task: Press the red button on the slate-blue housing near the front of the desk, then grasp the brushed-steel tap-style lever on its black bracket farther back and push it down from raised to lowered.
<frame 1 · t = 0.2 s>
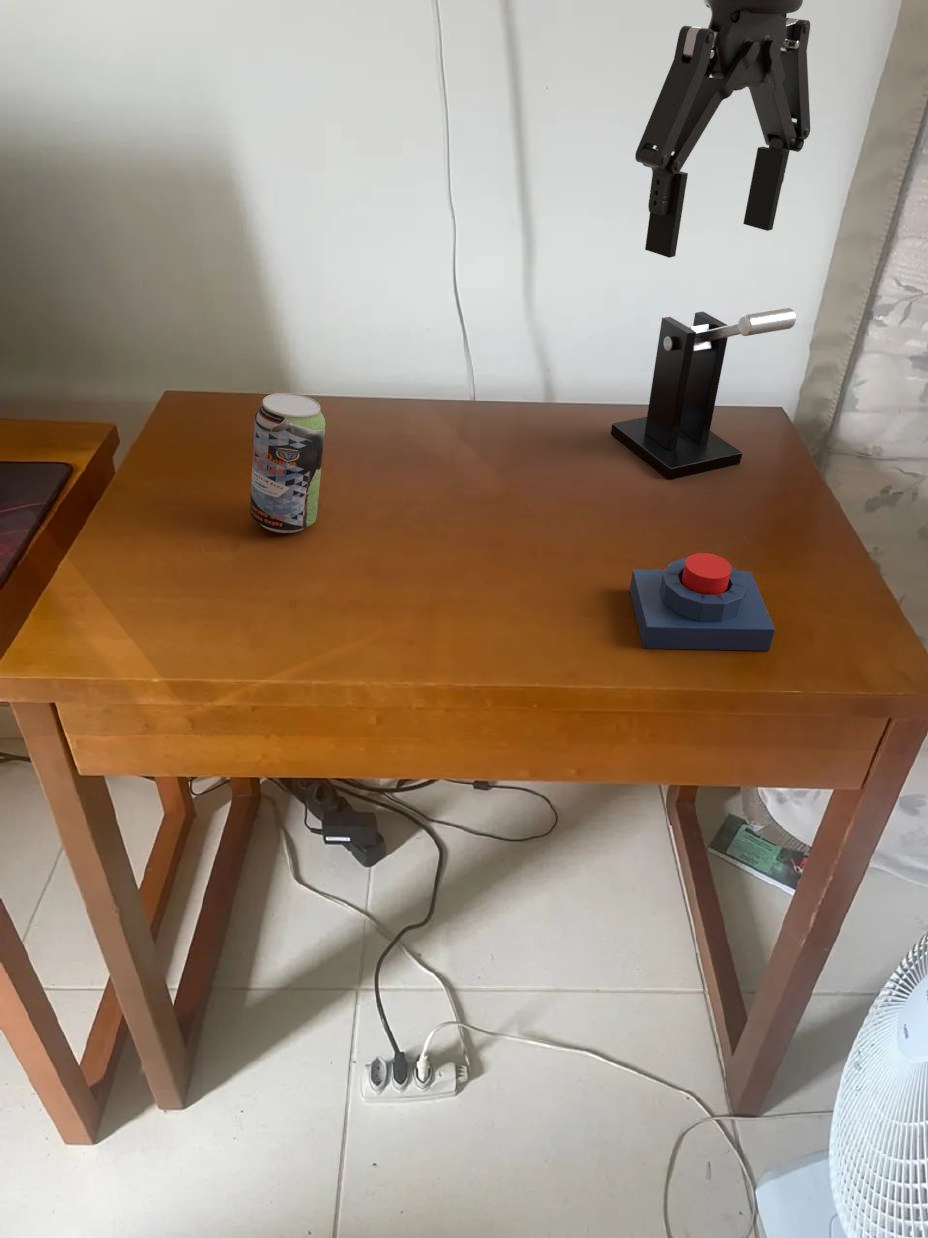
hand: (710, 239, 87), 23 cm above the table, tool pointing down, fingers open, 13 cm apart
lever: (726, 331, 93), point 14 cm above the table, hinge at 28.0°
button box: (696, 619, 80), on the table
button: (706, 574, 78), point 4 cm above the table, slide at 0.1 cm
beverage can: (292, 524, 91), on the table
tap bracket: (673, 448, 105), on the table
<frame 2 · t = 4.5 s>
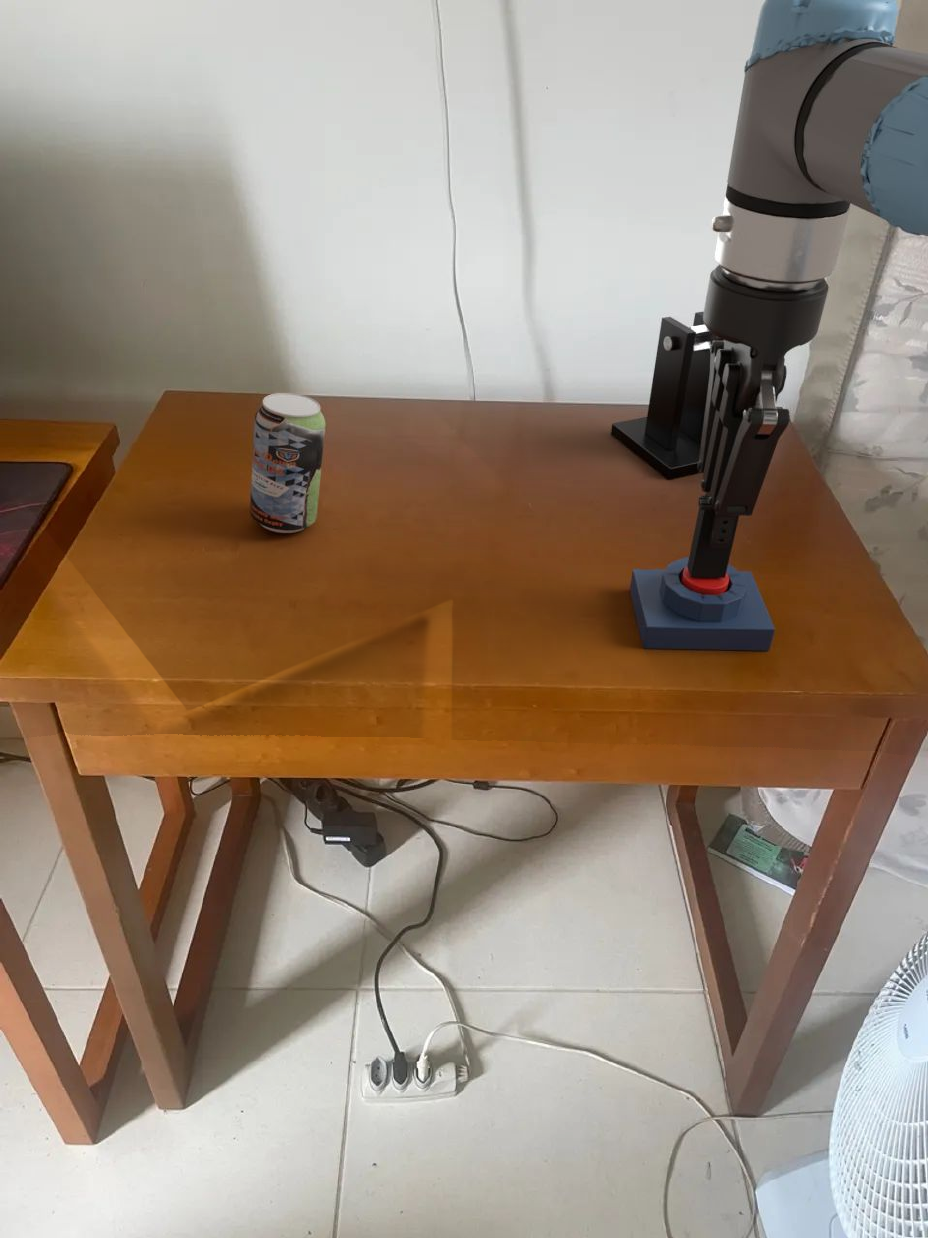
hand: (706, 571, 78), 5 cm above the table, tool pointing down, fingers closed
button: (704, 584, 78), point 4 cm above the table, slide at -0.9 cm, touching gripper
everything else where it was.
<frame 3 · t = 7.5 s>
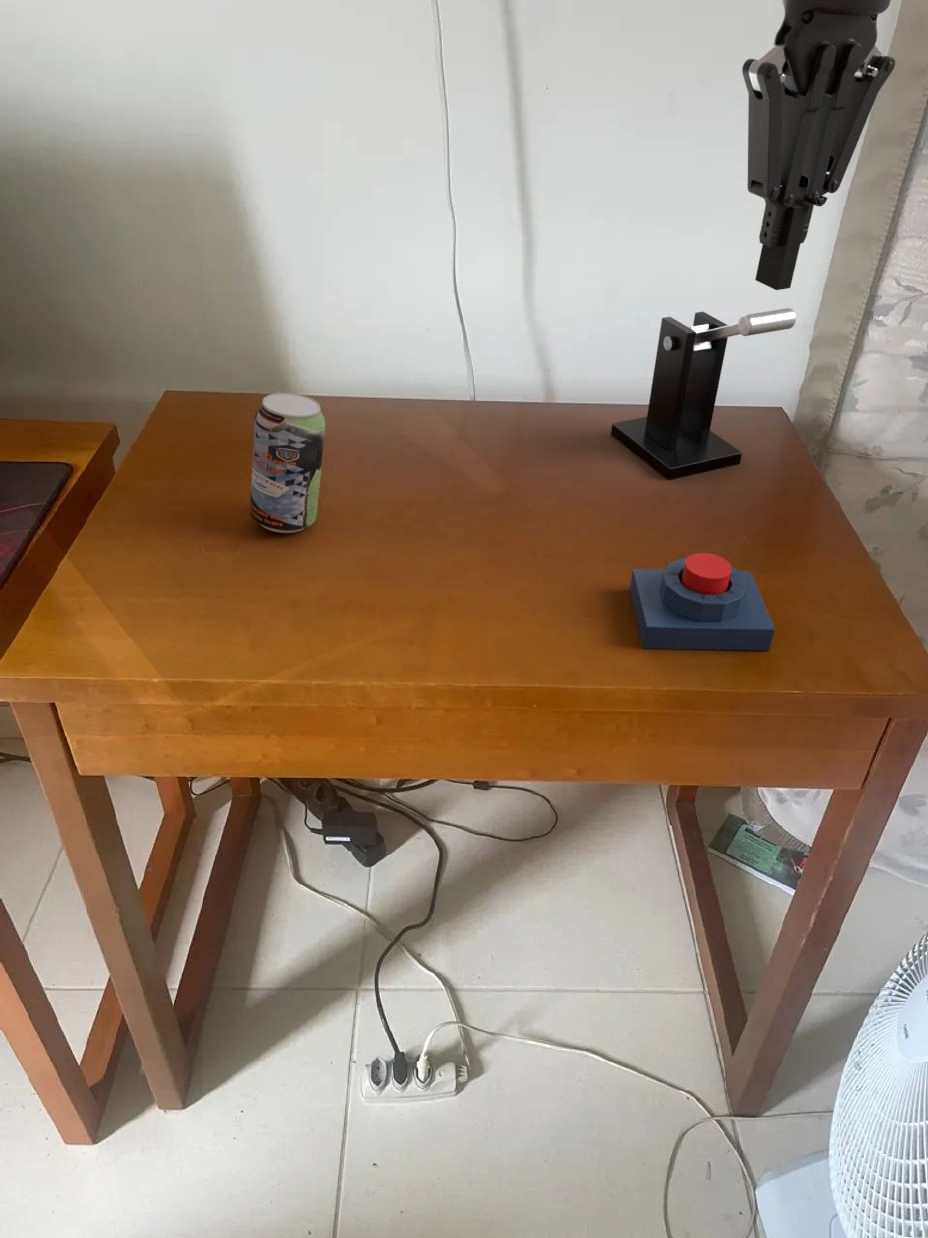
hand: (772, 283, 82), 21 cm above the table, tool pointing down, fingers closed
button: (706, 574, 78), point 4 cm above the table, slide at 0.1 cm
everything else where it was.
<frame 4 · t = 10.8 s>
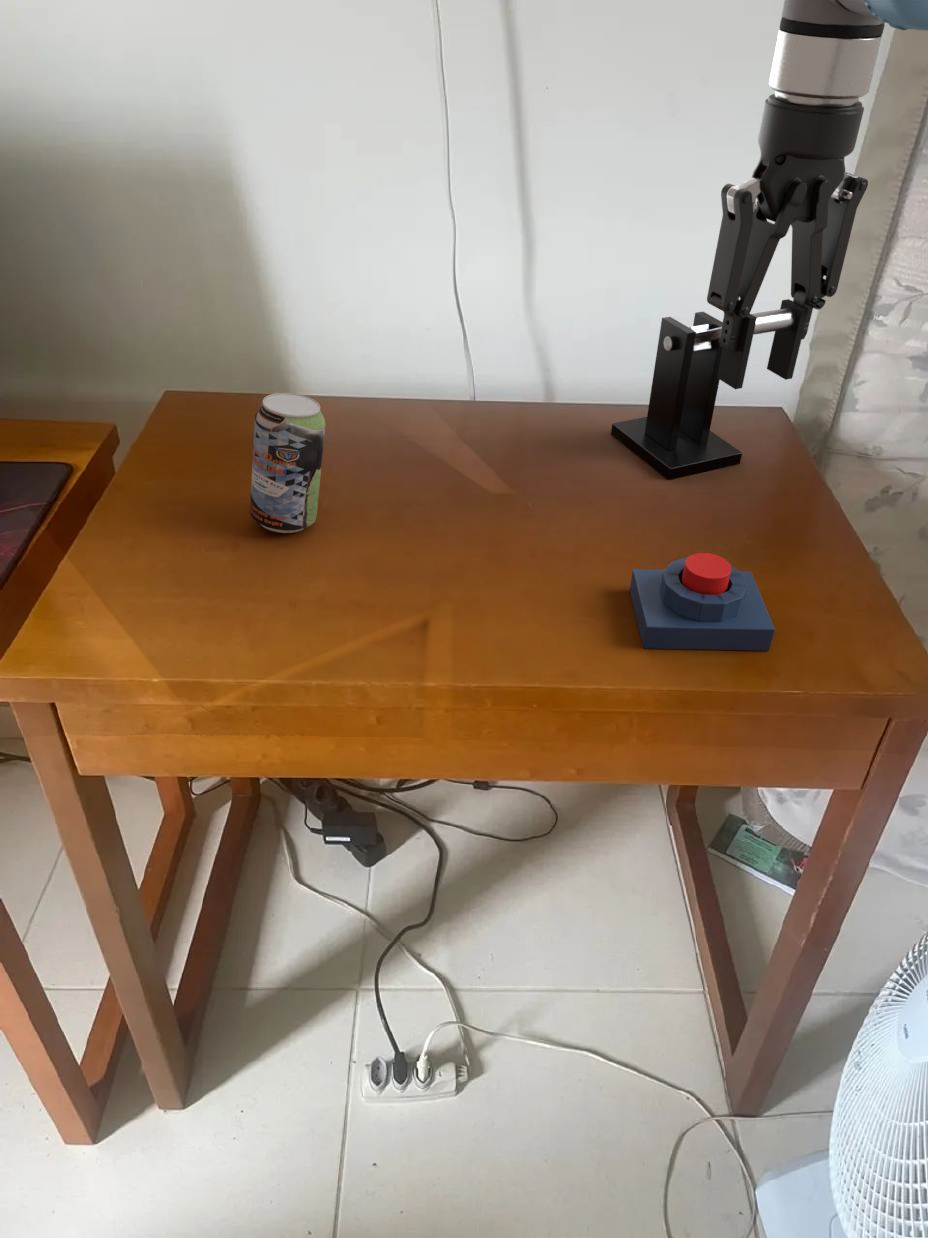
hand: (754, 377, 90), 12 cm above the table, tool pointing down, fingers closed on lever, 5 cm apart
lever: (726, 331, 93), point 14 cm above the table, hinge at 28.0°, touching gripper
everything else where it was.
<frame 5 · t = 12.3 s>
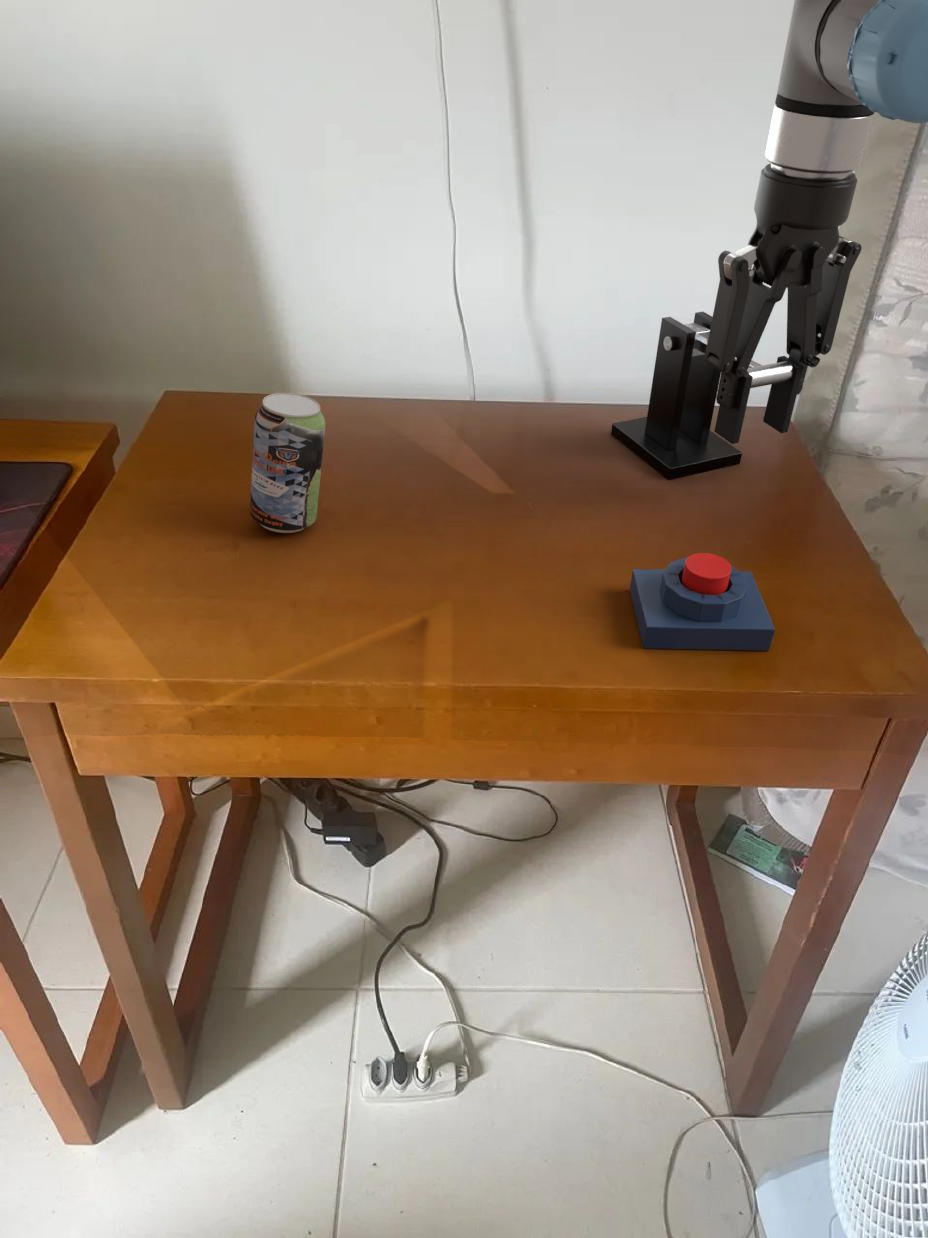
hand: (751, 431, 93), 7 cm above the table, tool pointing down, fingers closed on lever, 5 cm apart
lever: (725, 355, 93), point 12 cm above the table, hinge at 3.4°, touching gripper
everything else where it was.
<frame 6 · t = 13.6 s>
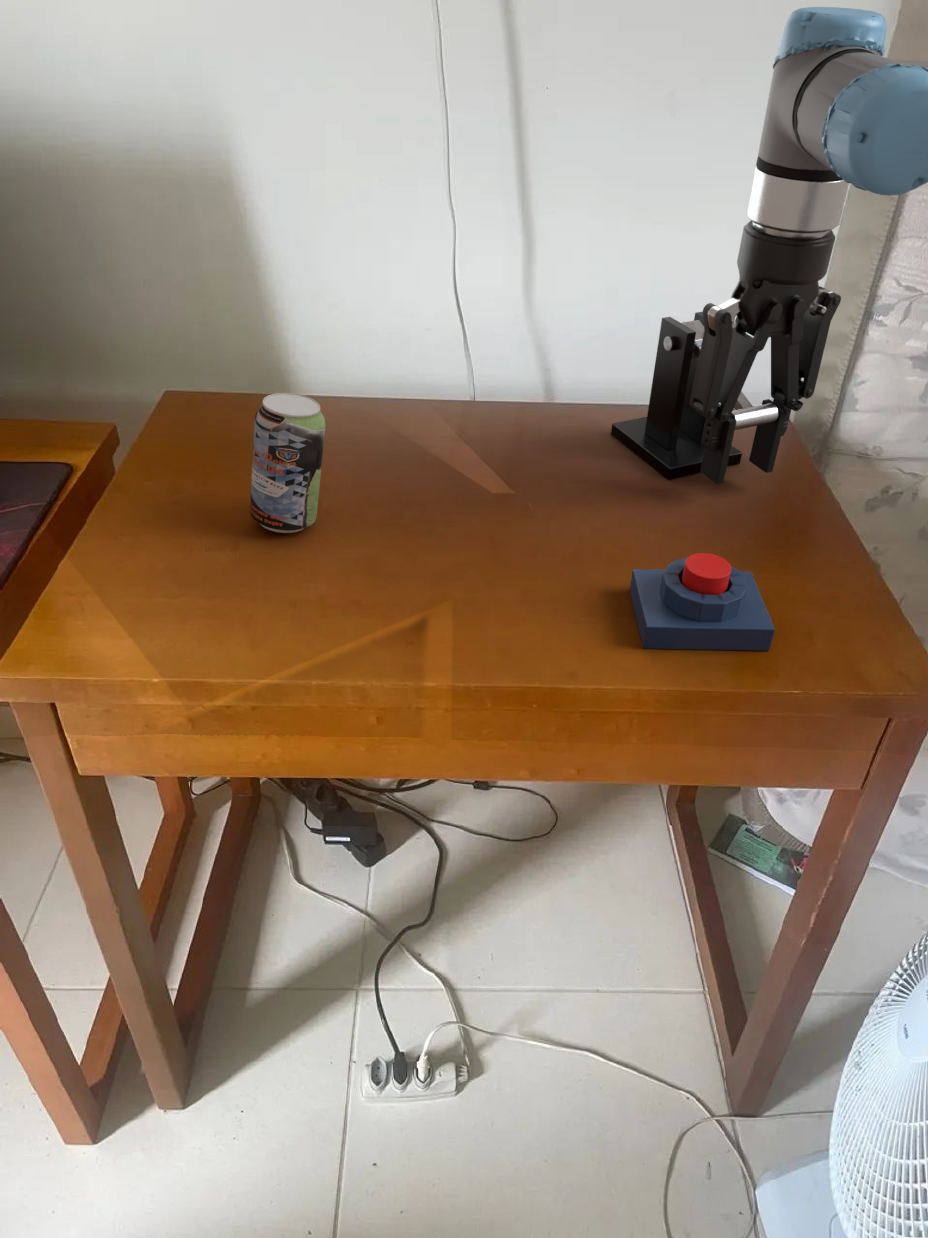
hand: (736, 471, 96), 2 cm above the table, tool pointing down, fingers open, 5 cm apart
lever: (719, 375, 95), point 10 cm above the table, hinge at -19.9°
everything else where it was.
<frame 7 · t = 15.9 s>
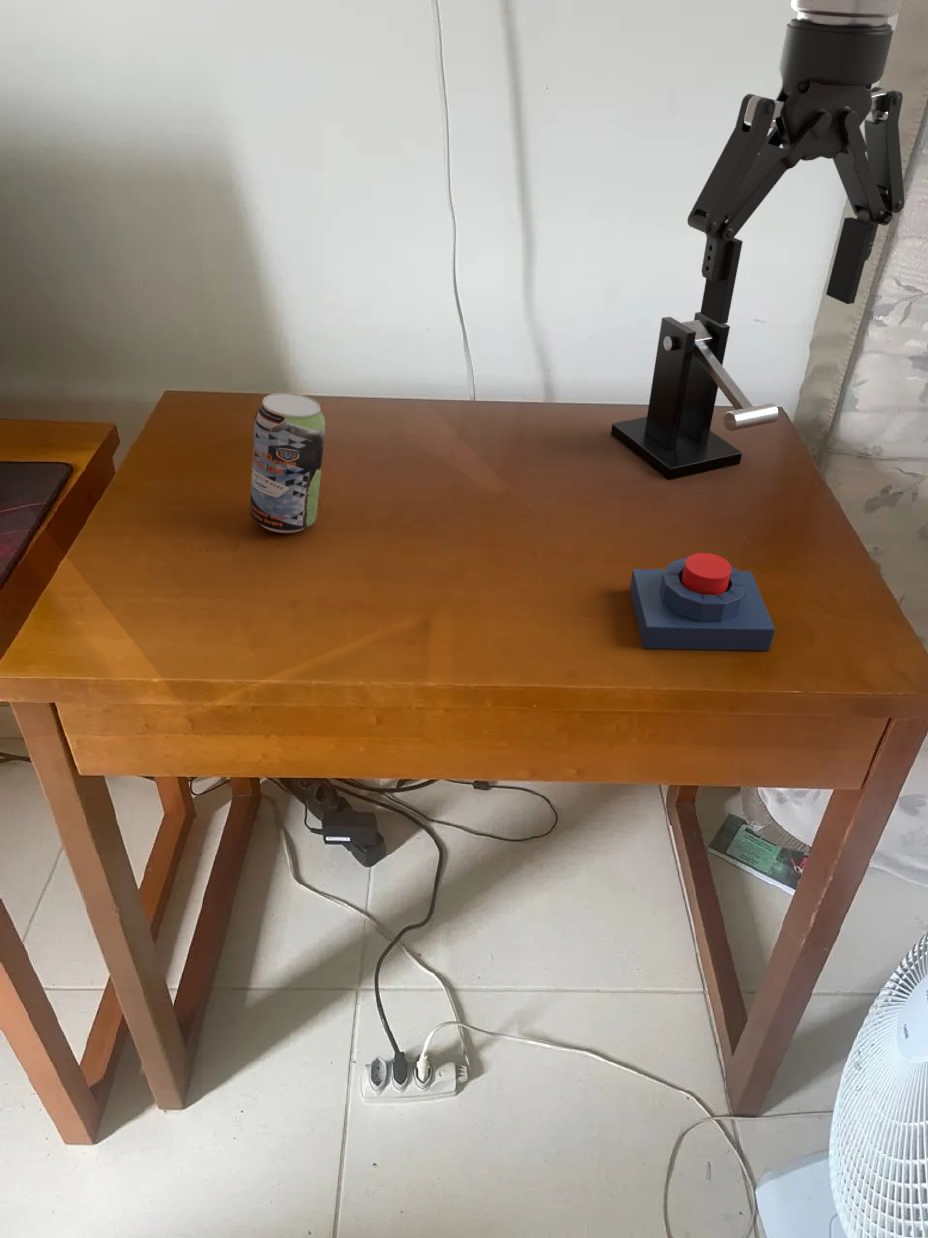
hand: (778, 308, 84), 19 cm above the table, tool pointing down, fingers open, 13 cm apart
nothing on the table moved.
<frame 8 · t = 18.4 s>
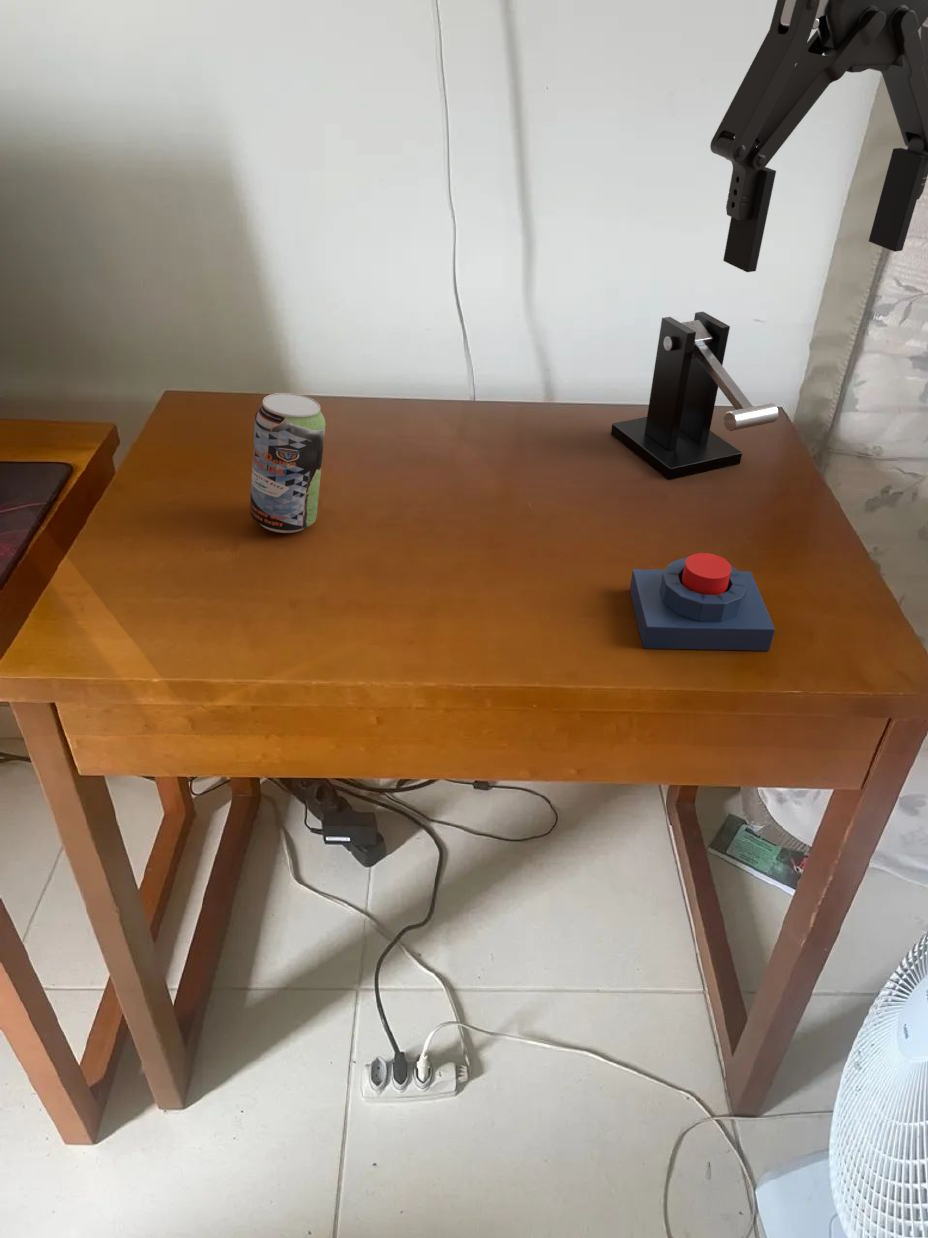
hand: (814, 256, 71), 27 cm above the table, tool pointing down, fingers open, 13 cm apart
nothing on the table moved.
at the end: button pushed in 1.0 cm at the most during the clip, back to where it started at the end; button slide at 0.1 cm; lever at -20° (first picture: +28°) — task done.
